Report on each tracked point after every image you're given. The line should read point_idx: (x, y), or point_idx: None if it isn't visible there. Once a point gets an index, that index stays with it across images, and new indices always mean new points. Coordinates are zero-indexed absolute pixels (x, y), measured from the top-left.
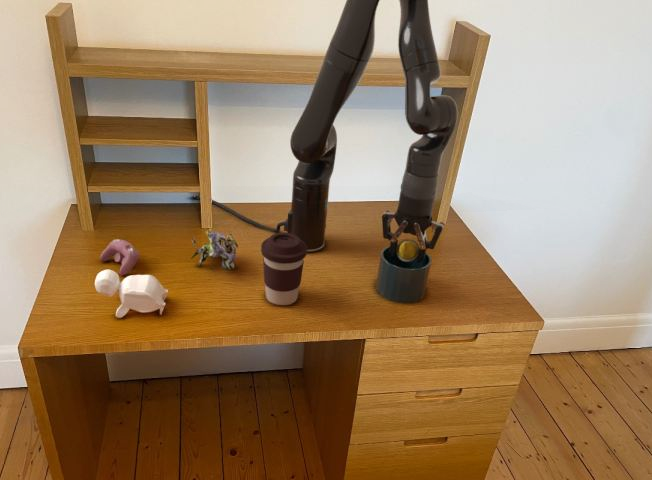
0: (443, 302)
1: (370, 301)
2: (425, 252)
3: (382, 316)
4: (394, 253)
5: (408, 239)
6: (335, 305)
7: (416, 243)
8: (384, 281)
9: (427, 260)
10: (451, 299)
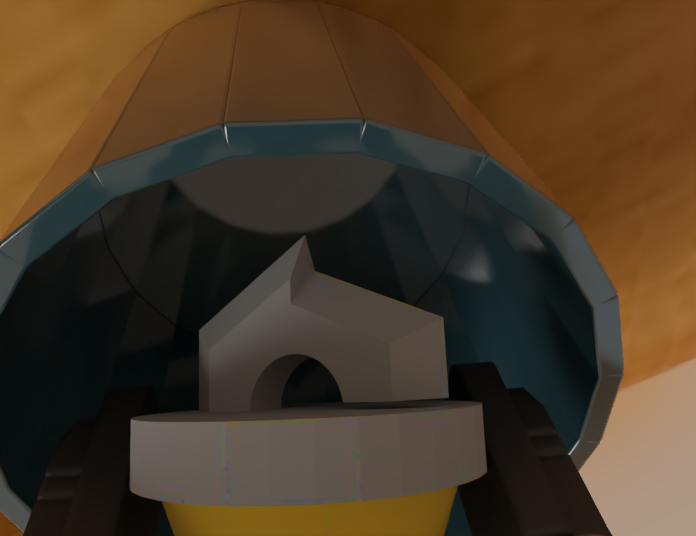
0: (615, 212)
1: None
2: (574, 480)
3: None
4: (160, 513)
5: (271, 505)
6: (7, 519)
7: (435, 488)
8: None
9: (559, 264)
10: (678, 149)
